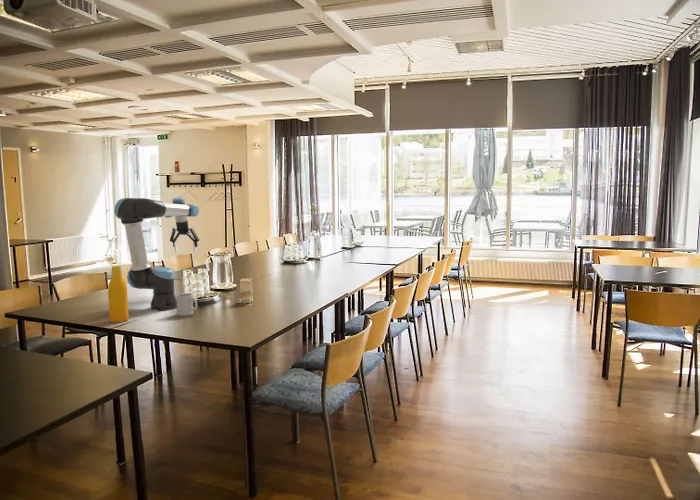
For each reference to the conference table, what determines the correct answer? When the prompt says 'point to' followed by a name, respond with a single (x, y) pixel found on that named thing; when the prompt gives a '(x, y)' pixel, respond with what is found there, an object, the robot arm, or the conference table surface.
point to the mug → (185, 304)
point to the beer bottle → (117, 297)
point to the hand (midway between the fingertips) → (186, 251)
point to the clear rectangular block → (246, 290)
